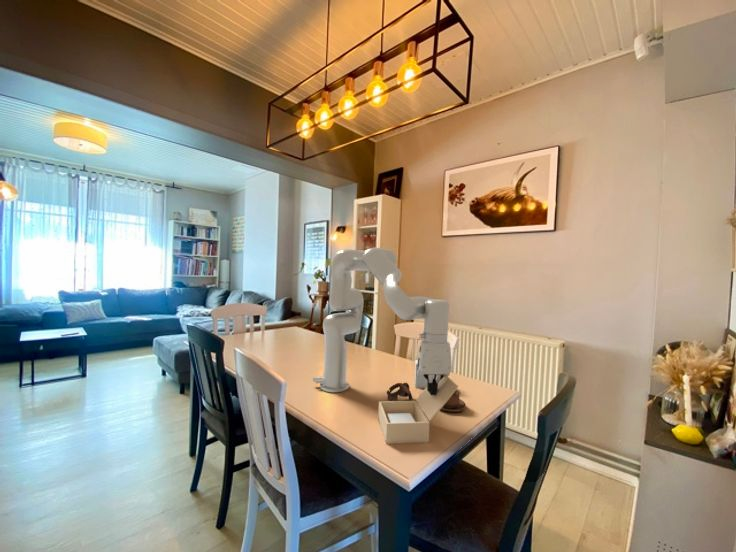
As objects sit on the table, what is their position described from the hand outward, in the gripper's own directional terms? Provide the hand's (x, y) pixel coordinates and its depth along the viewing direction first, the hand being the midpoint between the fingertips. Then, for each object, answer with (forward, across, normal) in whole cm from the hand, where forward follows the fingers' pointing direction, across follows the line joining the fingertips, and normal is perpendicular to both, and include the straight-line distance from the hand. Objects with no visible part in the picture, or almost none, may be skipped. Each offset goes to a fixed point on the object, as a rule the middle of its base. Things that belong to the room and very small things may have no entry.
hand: (432, 393), depth 100 cm
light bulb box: (+12, +10, +36) cm, 39 cm away
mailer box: (+12, -10, 0) cm, 15 cm away
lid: (-1, -1, 0) cm, 2 cm away
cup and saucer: (+12, +12, +15) cm, 23 cm away
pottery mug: (+12, -5, +20) cm, 24 cm away
